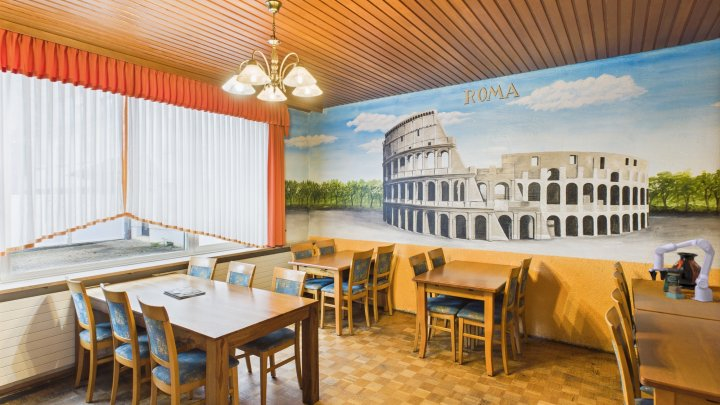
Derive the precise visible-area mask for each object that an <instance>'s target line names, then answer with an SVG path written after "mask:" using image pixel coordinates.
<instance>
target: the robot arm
mask: <svg viewBox="0 0 720 405" xmlns="http://www.w3.org/2000/svg"><path fill="white" fill-rule="evenodd" d="M690 246H691V247H695V248H696V247H698V248H699V249H702V251H703V252H705V254H704V258H703V260H702V261H703V262H702V264H701V265H702V266H701V272H700V274H699V277H698V278H697V279H696V284H697V286H695V290H694V297H691V300H694V301H699V302H701V303H703V302H714V300H713V290H712V289H711V288H709V286H710V285H709V284H710V283H709V277H710V273H711V269H712V266H713V262H714V260H715V259H714V258H715V254H716V250H715V249H714V248H713V246H712V244H711V242H709V241H708V240H707V239H705V238H701V237H700V238H695V239H691V240H690V239H689V240H686V241H682V242H678V243H677V244H675V243H670V242H669V243H668V244H663V245H660V246H656V247H655V248H654V249H653V250H654V257H653V267H649V268H648V273H649V274H650V278H651V280H652V281H654V282H656V279H657V275H658V272H659V275H660V276H659V277H660V281H663V282H664V281H665V277H666V275H667V274H668V268H669V267H664V264H665V260H664V259H665V257H664V256H665V255H664V254H669V253H673V252H675V251H677V250H678V249H681V248H686V247H690Z"/></svg>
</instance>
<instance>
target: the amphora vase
mask: <svg viewBox="0 0 720 405" xmlns="http://www.w3.org/2000/svg"><path fill="white" fill-rule="evenodd" d="M676 254H677V255H678V256H679V260H677V261H676V262H675V263H673V264H672V265H671V267H670V268H675V269H679V271H680V276H679V287H681V289H683V290H690V291H691V290H693V291H695V286H697V284H696V279H697V278H698V277H699V274H700V272H701V268H702V266H700V264H698V263H697V261H696V260H695V258H696V257H698V256H699V254H698V253H693V252H684V251H683V252H682V251H681V252H676Z"/></svg>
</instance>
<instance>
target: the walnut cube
mask: <svg viewBox="0 0 720 405" xmlns="http://www.w3.org/2000/svg"><path fill="white" fill-rule="evenodd" d="M669 293H672V294H682V288H681V287H678V286H669Z"/></svg>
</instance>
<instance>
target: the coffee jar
mask: <svg viewBox="0 0 720 405" xmlns="http://www.w3.org/2000/svg"><path fill="white" fill-rule="evenodd" d="M667 268H668V274H667V275H666V277H665V279H664V281H663V286H662V287H663V291H664V292H669V286H678V287H679V276H680V271H679V269H675V268H671V267H667Z"/></svg>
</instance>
